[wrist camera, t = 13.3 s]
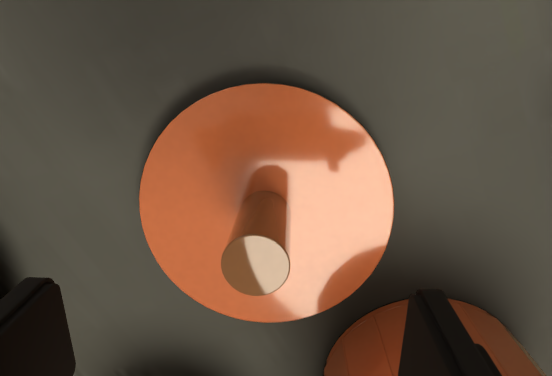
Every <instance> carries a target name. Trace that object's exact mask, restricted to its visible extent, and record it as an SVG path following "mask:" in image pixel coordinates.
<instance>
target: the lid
mask: <svg viewBox="0 0 552 376" xmlns="http://www.w3.org/2000/svg"><path fill="white" fill-rule="evenodd" d="M139 204H140V216H141V222H142V227H143V230H144V234H145V237H146V240H147V243H148V245H149V247H150V249H151V251H152V253H153V256H154V257H155V259H156V260H157V262H158V263H159V265H160V267H161V268H162V269H163V271H164V272H165V273H166V274H167V276H168V277H169V278H170V279H171V280H172V281H173V282H174V283H175V284H176V285H177V286H178V287H179V288H180V289H181V290H182V291H183V292H185V293H186V294H187V295H189V296H190V297H191V298H193V299H194V300H195V301H197V302H199V303H201V304H202V305H204V306H206V307H207V308H210V309H212V310H214V311H216V312H218V313H221V314H224V315H227V316H230V317H233V318H237V319H242V320H247V321H253V322H264V323H269V322H286V321H293V320H298V319H302V318H306V317H310V316H313V315H315V314H318V313H321V312H323V311H325V310H327V309H329V308H331V307H333V306H335V305H337V304H338V303H340V302H341V301H343V300H344V299H346V298H347V297H349V296H350V295H351V294H352V293H353V292H354V291H356V290H357V289H358V288H359V287H360V286H361V285H362V284H363V283H364V282H365V281H366V279H367V278H368V277H369V276H370V275H371V273H372V272H373V270H374V269H375V267H376V266H377V264H378V263H379V261H380V259H381V257H382V255H383V253H384V251H385V249H386V247H387V244H388V240H389V237H390V234H391V230H392V224H393V219H394V195H393V186H392V182H391V178H390V174H389V170H388V167H387V165H386V163H385V160H384V158H383V155H382V153H381V152H380V150H379V148H378V147H377V145H376V143H375V142H374V140H373V139H372V137H371V136H370V135H369V134H368V132H367V131H366V130H365V129H364V127H363V126H362V125H361V124H360V123H359V122H358V121H357V120H356V119H355V118H354V117H352V116H351V115H350V114H349V113H348V112H347V111H345V110H344V109H343V108H341V107H340V106H338V105H337V104H336V103H334V102H332V101H330V100H329V99H327V98H325V97H323V96H321V95H319V94H317V93H314V92H311V91H308V90H306V89H303V88H299V87H295V86H290V85H285V84H276V83H252V84H244V85H239V86H234V87H229V88H226V89H223V90H221V91H218V92H215V93H212V94H210V95H208V96H206V97H204V98H202V99H200V100H198V101H196V102H195V103H193V104H192V105H191V106H189V107H188V108H186V109H185V110H183V111H182V112H181V113H180V114H179V115H178V116H177V117H176V118H174V119H173V120H172V121H171V122H170V123H169V124H168V126H167V127H166V128H165V129H164V131H163V132H162V133H161V134H160V136H159V137H158V139H157V141H156V142H155V144H154V146H153V147H152V149H151V151H150V153H149V156H148V158H147V161H146V163H145V166H144V170H143V174H142V178H141V184H140V193H139Z"/></svg>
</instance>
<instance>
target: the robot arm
mask: <svg viewBox="0 0 552 376" xmlns="http://www.w3.org/2000/svg"><path fill="white" fill-rule="evenodd" d="M75 365H76V363H75V357H74V352H73V348H72V343H71V338H70V333H69V329H68V324H67V319H66V314H65V310H64V305H63V300H62V295H61V291H60V287H59V285H58V284H55V283H54V281H53V280H52V279H51V278H35V277H29V278H26V279H24V280H23V281H22V282H20V283H19V284H18V285H17V286H16V287H15V288H13V289H12V290H11V291H10V292H9V293H8V294H7V295H5V296H4V297H3V298H2V299H1V300H0V376H73V374H74V371H75ZM398 376H502V375H501V373H500V372H499V370H498V368H497V367H496V365H495V364H494V362H493V360H492V359H491V357H490V356H489V354H488V353H487V351H486V350H485V348H484V347H483V346H482V345H480V344H475V343H474V342H473V340H472V338H471V337H470V335H469V333H468V332H467V330H466V329H465V327H464V325H463V324H462V322H461V320H460V319H459V317H458V315H457V314H456V312H455V310H454V309H453V307H452V305H451V304H450V302H449V301H448V299H447V297H446V296H445V294H444V292H443V291H442V290H439V289H418V290H417V292H416V294H411V295H410V296H409V301H408V308H407V315H406V322H405V329H404V336H403V343H402V349H401V356H400V363H399V370H398Z"/></svg>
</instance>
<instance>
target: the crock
mask: <svg viewBox="0 0 552 376" xmlns="http://www.w3.org/2000/svg"><path fill="white" fill-rule="evenodd" d="M447 299H448V298H447ZM408 301H409V299H406V300H402V301H398V302H394V303H391V304H388V305H385V306H383V307H380V308H378V309H376V310H374V311H372V312H370V313H368V314H366V315H365V316H363V317H362V318H360V319H359V320H357V321H356V322H355V323H354V324H352V325H351V326H350V327H349V328H348V329H347V330H346V331H345V332H344V333H343V334H342V335H341V336H340V337H339V339H338V340H337V342H336V343H335V345H334V346H333V348H332V350H331V352H330V354H329V356H328V358H327V361H326V364H325V368H324V374H323V376H398V370H399V363H400V356H401V349H402V343H403V336H404V329H405V322H406V315H407V308H408ZM448 301H449V302H450V304H451V305H452V307H453V309H454V310H455V312H456V314H457V315H458V317H459V319H460V320H461V322H462V324H463V325H464V327H465V329H466V330H467V332H468V333H469V335H470V337H471V338H472V340H473V342H474V343H475V344H480V345H482V346H483V347H484V348H485V350H486V351H487V353H488V354H489V356H490V357H491V359H492V360H493V362H494V364H495V365H496V367H497V368H498V370H499V372H500V373H501V375H502V376H546V374H545V373H544V372H543V371H542V369H541V368H540V367H539V366H538V364H537V363H536V362H535V361H534V359H533V358H532V357H531V356H530V354H529V353H528V352H527V351H526V349H525V348H524V347H523V346H522V344H521V343H520V342H519V341H518V340H517V339H516V338H515V337H514V336H513V335H512V334H511V333H510V332H509V330H508V329H507V328H506V327H505V326H504V325H503V324H502V323H501V322H500V321H499V320H498V319H497V318H495V317H494V316H492V315H491V314H489V313H488V312H486V311H484V310H482V309H480V308H478V307H476V306H474V305H471V304H468V303H465V302H462V301H457V300H453V299H448Z"/></svg>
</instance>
